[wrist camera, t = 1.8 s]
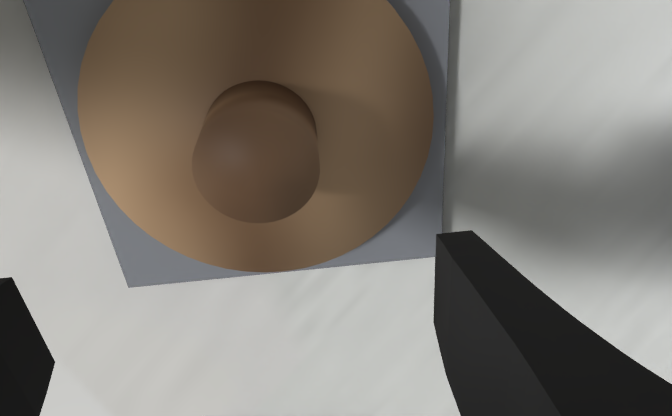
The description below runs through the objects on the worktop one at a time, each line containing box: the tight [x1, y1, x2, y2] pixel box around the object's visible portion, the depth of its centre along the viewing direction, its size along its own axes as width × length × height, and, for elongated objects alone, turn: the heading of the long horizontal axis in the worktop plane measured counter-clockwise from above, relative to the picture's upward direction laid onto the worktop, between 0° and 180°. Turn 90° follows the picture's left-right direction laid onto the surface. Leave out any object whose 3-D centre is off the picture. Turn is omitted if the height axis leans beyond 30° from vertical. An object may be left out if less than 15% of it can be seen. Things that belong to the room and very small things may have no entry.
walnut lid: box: [78, 0, 434, 272], centre depth 15 cm, size 10×10×3 cm
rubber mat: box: [23, 0, 450, 288], centre depth 16 cm, size 11×11×1 cm
